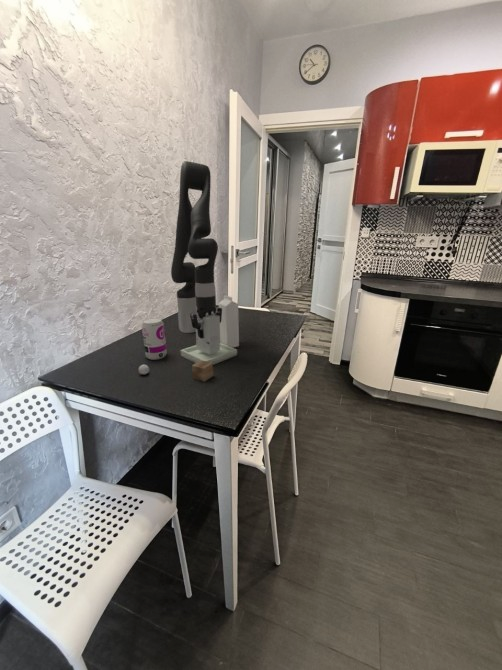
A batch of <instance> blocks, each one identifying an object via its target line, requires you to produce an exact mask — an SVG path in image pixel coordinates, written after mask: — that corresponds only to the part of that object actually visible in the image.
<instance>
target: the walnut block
mask: <svg viewBox="0 0 502 670" xmlns="http://www.w3.org/2000/svg"><path fill="white" fill-rule="evenodd" d="M213 366H214V365H213V363H211V362H207V361H203V360H200V361H199V362H197V363H195V362H194V364H192V365H191V370H192V379H194V380H197V381H201V382H204V383H205V382H206V381H208V380H210V379H211V378H212V377H214V367H213Z"/></svg>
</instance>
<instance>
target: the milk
mask: <svg viewBox="0 0 502 670" xmlns="http://www.w3.org/2000/svg"><path fill="white" fill-rule="evenodd" d="M218 307H219V308H222V318H221V322H220V343H221V344H224V345H227V346H229V347H232V348H236V347H239V346H240V341H239V340H240V338H239V337H240V334H239V332H240V331H239V329H240V327H239V303H237V302H235V301H233V297H232V296H228V295H225V294H224V295H223V299H222V300H221V301H220V302H218Z"/></svg>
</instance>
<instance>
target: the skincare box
mask: <svg viewBox="0 0 502 670" xmlns="http://www.w3.org/2000/svg"><path fill="white" fill-rule="evenodd" d="M215 314H216V313H215ZM215 314H214V315H208V317H203V318H202V319H201V318H200V317H199V316H198V318H199V320H200V321H203V319H204V324H203V334H204V338H202V339H201V338H199V337H198V330H197V329H196V332H195V341H196V342H195V345H196V349H197V350H200V351H203V352H205V353H207V354H212V353H214V352H217V351H219V350H220V316H218V315H215ZM198 318H197V320H198ZM200 325H201V323H200Z"/></svg>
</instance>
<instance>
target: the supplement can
mask: <svg viewBox="0 0 502 670" xmlns="http://www.w3.org/2000/svg"><path fill="white" fill-rule="evenodd" d="M164 324H165V323H164V321H163V320H162V319H161V318H158V317H152V318H146V319H144V320H142V323H141V331H142V338H143V345H144V353H145V354H144V355H145V357H146V358H147V359H148V360H154V361H156V360H161V359H164V358H165V357H166V356H167V354H168V352H167V342H166V335H165V334H166V333H165V325H164Z"/></svg>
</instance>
